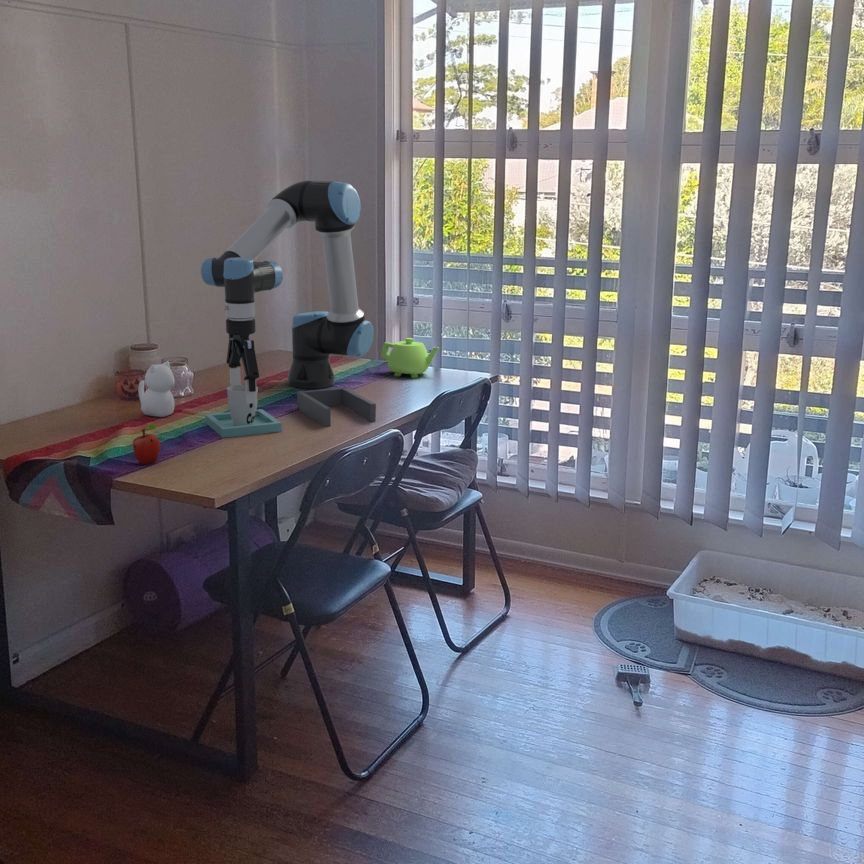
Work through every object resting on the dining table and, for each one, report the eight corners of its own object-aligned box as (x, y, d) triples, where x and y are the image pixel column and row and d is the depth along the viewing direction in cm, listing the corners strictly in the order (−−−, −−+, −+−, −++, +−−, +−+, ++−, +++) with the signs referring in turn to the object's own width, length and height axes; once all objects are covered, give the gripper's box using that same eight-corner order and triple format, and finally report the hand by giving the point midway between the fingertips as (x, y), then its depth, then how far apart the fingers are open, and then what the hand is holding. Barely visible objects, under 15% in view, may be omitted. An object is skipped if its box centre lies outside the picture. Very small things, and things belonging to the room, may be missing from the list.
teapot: (442, 373, 333) (443, 337, 329) (432, 381, 320) (433, 343, 317) (387, 368, 337) (387, 333, 334) (374, 376, 325) (375, 339, 322)
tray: (205, 422, 262) (205, 414, 261) (262, 417, 270) (261, 409, 269) (222, 437, 249) (222, 429, 248) (281, 431, 256) (281, 423, 255)
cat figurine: (161, 421, 263) (159, 367, 259) (127, 414, 268) (125, 361, 264) (184, 414, 270) (182, 362, 266) (150, 407, 276) (148, 356, 272)
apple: (125, 464, 225) (123, 423, 222) (143, 457, 231) (141, 416, 228) (153, 469, 222) (150, 427, 219) (170, 461, 228) (168, 420, 226)
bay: (297, 408, 280) (297, 391, 279) (344, 403, 287) (344, 387, 286) (325, 426, 262) (325, 408, 260) (375, 421, 269) (375, 403, 267)
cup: (251, 429, 254) (251, 392, 251) (223, 426, 256) (221, 390, 253) (263, 421, 262) (262, 385, 259) (235, 419, 263) (234, 383, 261)
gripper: (212, 311, 260) (216, 387, 266) (241, 327, 239) (244, 409, 245) (239, 309, 263) (242, 385, 269) (270, 325, 242) (272, 406, 248)
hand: (243, 397), depth 257 cm, fingers open, 13 cm apart
